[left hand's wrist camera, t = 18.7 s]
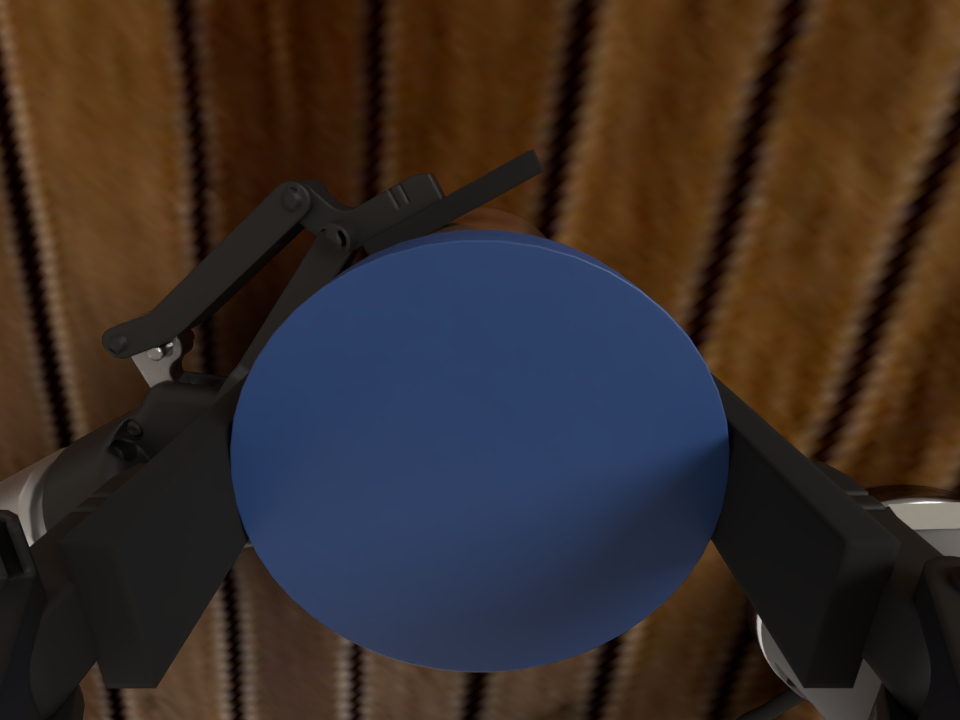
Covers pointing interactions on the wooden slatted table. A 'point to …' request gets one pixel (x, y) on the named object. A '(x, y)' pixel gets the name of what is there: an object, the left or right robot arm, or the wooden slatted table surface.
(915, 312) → the wooden slatted table surface
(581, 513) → the lid
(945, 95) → the wooden slatted table surface
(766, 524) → the left robot arm
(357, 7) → the wooden slatted table surface
